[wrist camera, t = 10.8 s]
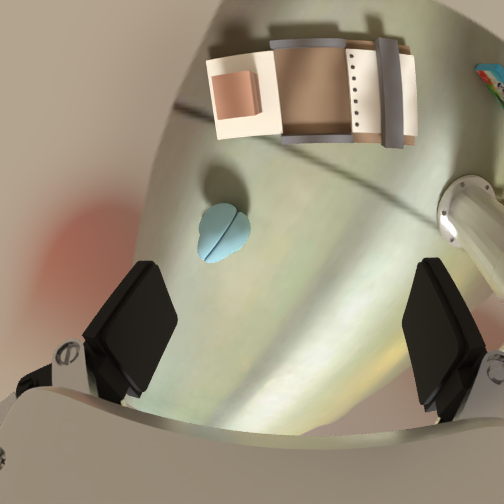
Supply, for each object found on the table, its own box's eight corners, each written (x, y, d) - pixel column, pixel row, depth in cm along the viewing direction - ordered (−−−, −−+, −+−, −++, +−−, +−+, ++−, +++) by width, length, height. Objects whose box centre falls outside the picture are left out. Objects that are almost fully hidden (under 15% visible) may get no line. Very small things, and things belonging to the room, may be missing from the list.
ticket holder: (405, 47, 24) (418, 43, 20) (410, 143, 31) (422, 150, 28) (271, 43, 28) (267, 36, 24) (283, 141, 35) (280, 148, 31)
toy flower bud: (166, 270, 40) (202, 215, 33) (188, 237, 47) (224, 186, 40) (205, 296, 41) (250, 249, 34) (222, 261, 48) (263, 215, 41)
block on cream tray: (273, 51, 27) (267, 41, 21) (283, 132, 33) (279, 141, 27) (208, 61, 29) (188, 55, 23) (219, 138, 35) (202, 148, 29)
